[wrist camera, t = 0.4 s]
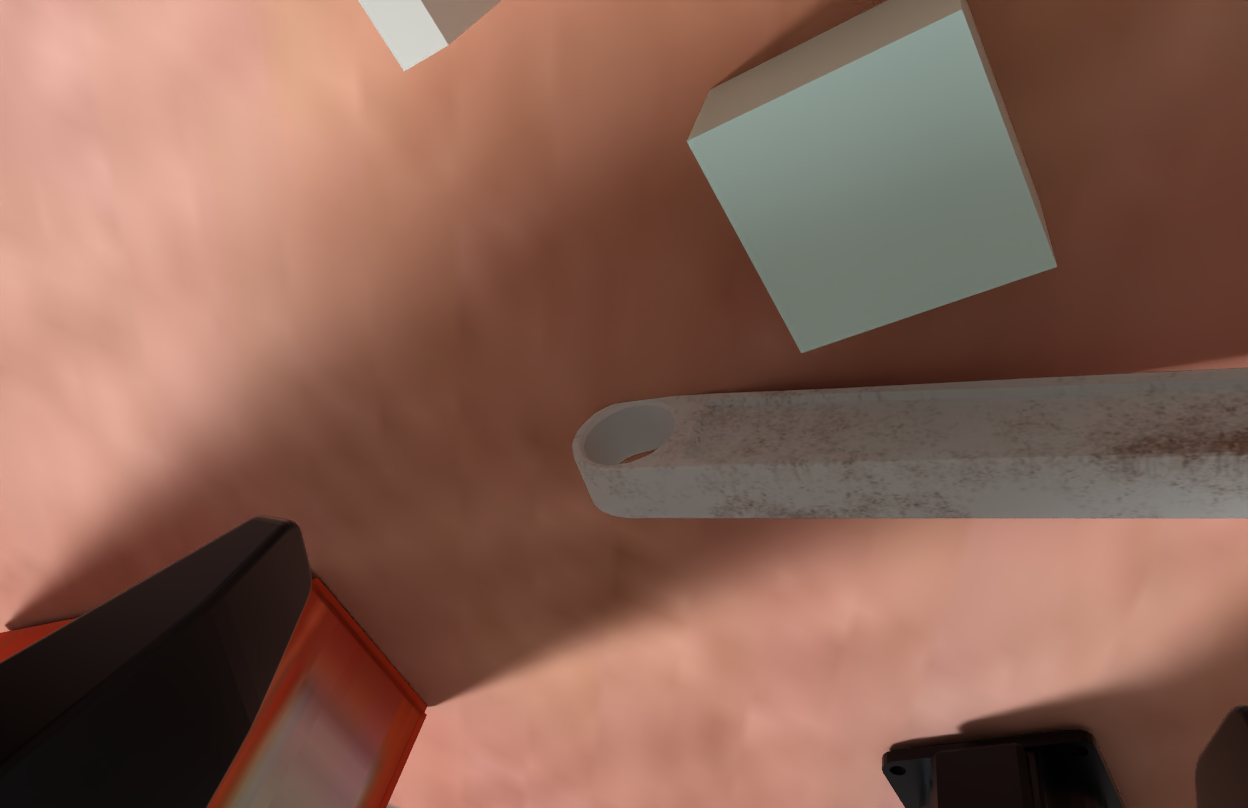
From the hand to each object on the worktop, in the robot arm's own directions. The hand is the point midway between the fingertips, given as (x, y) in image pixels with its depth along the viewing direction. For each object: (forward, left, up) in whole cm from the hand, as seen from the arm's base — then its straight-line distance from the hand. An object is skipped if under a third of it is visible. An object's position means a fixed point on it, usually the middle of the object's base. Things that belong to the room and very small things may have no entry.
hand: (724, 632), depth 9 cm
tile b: (-1, -1, -13) cm, 13 cm away
